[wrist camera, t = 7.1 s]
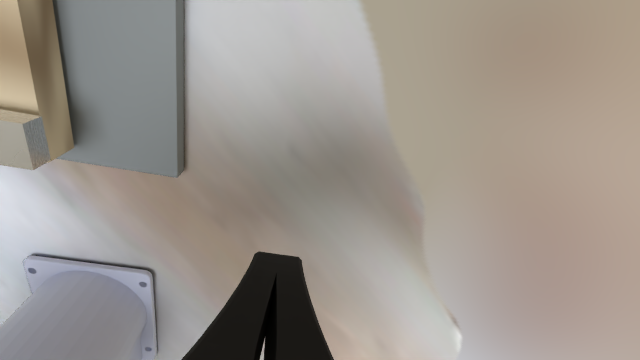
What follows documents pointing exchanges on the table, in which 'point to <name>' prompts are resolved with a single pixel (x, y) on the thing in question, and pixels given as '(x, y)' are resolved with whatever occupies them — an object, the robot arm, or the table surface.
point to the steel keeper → (22, 140)
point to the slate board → (124, 82)
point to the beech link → (34, 69)
